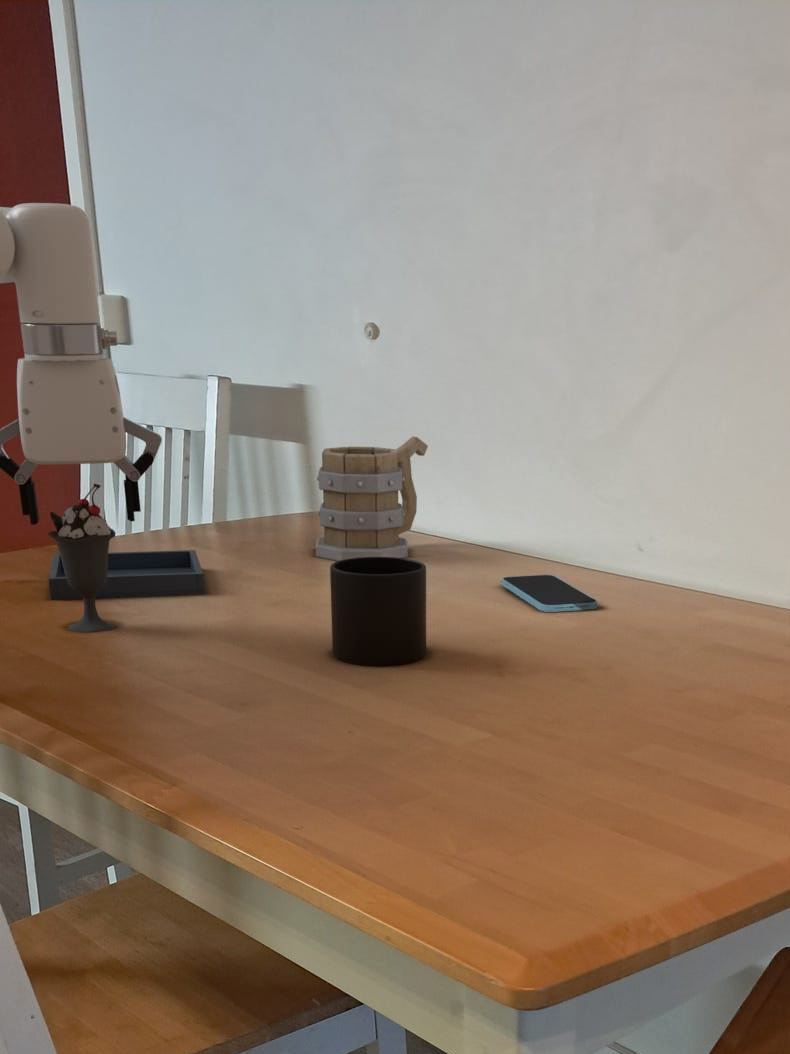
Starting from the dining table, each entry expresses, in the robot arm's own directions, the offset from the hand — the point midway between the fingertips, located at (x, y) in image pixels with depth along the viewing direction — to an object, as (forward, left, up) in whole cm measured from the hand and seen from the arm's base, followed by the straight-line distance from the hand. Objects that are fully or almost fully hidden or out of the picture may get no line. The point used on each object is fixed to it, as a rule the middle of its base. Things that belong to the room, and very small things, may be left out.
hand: (83, 520), depth 132 cm
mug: (+28, -16, -12) cm, 34 cm away
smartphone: (+53, +5, -11) cm, 54 cm away
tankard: (+39, +39, -12) cm, 56 cm away
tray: (+4, +22, -11) cm, 25 cm away
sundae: (0, 0, -12) cm, 12 cm away
